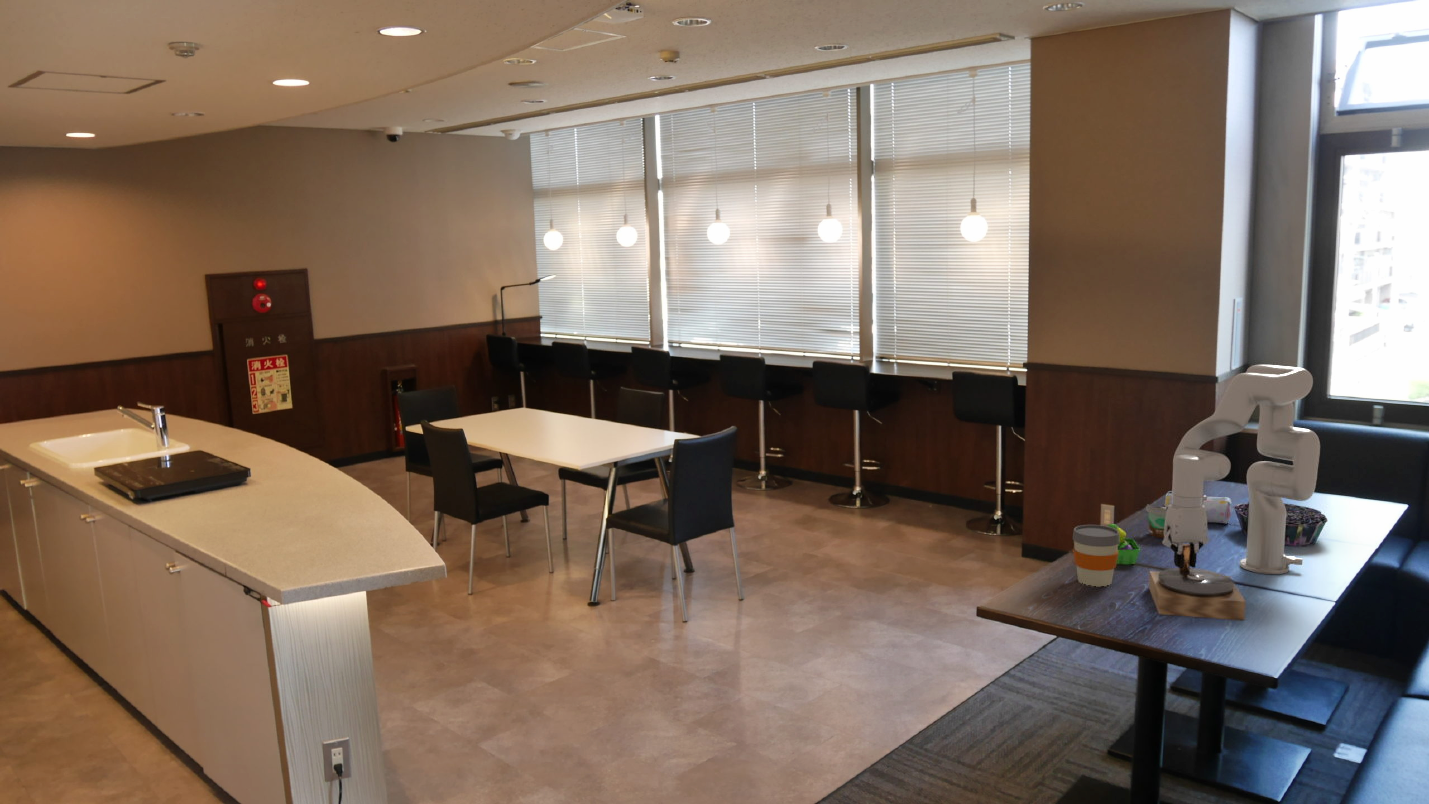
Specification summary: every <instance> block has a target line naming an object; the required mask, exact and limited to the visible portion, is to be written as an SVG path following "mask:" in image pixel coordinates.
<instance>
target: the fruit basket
mask: <svg viewBox="0 0 1429 804" xmlns="http://www.w3.org/2000/svg"><path fill="white" fill-rule="evenodd" d="M1107 527H1111V528H1114V529H1116V530H1118V531H1119V537H1120V543H1119V544H1118V548H1117V550H1118V558H1117V563H1116V565H1132V564H1136V562H1137V559H1138V555H1139V553H1140V552H1141V548H1140V547H1139V546H1138V544H1137V542H1136V540H1134V539H1133V538H1126V537H1127V533H1126V532H1125V530H1123V529H1122V528H1120V527H1119V526H1118V525H1117V524H1115V523H1111V524H1110V523H1109V524H1107Z"/></svg>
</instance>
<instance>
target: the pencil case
mask: <svg viewBox="0 0 1429 804" xmlns="http://www.w3.org/2000/svg"><path fill="white" fill-rule="evenodd" d="M1164 498H1165V501H1164V504H1162V507H1168V506H1169V505H1171V504H1172V490H1171V491H1170V490H1169V491H1167V493H1166V495H1165V496H1164ZM1203 505H1204V506H1205V510H1206V517H1207V523H1217V524H1225V525H1226V524H1227V523H1228V524H1229V523H1230V519H1231V515H1232V500H1231V498H1230V497H1226V496H1225V497H1222V496H1221V497H1220V496H1219V497H1218V496H1207V500H1204V501H1203ZM1228 524H1227V525H1228Z"/></svg>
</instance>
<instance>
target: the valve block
mask: <svg viewBox="0 0 1429 804" xmlns="http://www.w3.org/2000/svg"><path fill="white" fill-rule="evenodd" d="M1160 572H1161V571H1155V570H1153V571H1152V570H1149V582H1148V589H1149V591H1150V594H1151V598H1152V600H1153V603H1154V605H1155V607H1156V610H1157V612H1158V615H1165V616H1167V615H1168V616H1181V617H1194V618H1207V619H1220V620H1221V619H1222V620H1236V621H1245V615H1246V600H1245V598H1244V597H1243V595H1242V593H1241V591H1240V590H1239V589H1238V587H1237V586H1236V584H1235V583H1234V590H1233V591H1232V592H1231V593H1229V594H1227V595H1222V596H1195V595H1188V594H1183V593H1178V592H1175V591H1172V590H1169V589H1167V588H1165V587H1163V586H1162V585H1160V584H1159V581H1158V577H1159V573H1160ZM1226 576H1227V577H1229V578H1231V576H1230V575H1226Z"/></svg>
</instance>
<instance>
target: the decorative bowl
mask: <svg viewBox="0 0 1429 804" xmlns="http://www.w3.org/2000/svg"><path fill="white" fill-rule="evenodd" d="M1283 503H1284V502H1283ZM1284 505H1285V508H1286V527H1285V543H1284V546H1288V545H1290V546H1289V547H1297V545H1301V546H1300V547H1308V546H1310V545H1314V544H1316V543H1317V541H1318V539H1319V537H1320V534H1321V533H1322V531H1323V529H1324V527H1325V525H1326V524H1327V523H1328V518H1327V516H1326V515H1325V514H1323V513H1322V511H1321V510H1318V509H1315V508H1312V507H1309V506H1308V507H1307V506H1303V505H1298V504H1292V503H1284ZM1232 508H1233V509H1234V511H1235V514H1236V517H1237V520H1238V523H1239V526H1240V529H1241V531H1242V530H1243V533H1244V532H1245V533H1246V534H1245V533H1244V534H1245V535H1247V534H1248V516H1249V502H1242V503H1239V504H1235V505H1233V506H1232ZM1307 545H1308V546H1307Z"/></svg>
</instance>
